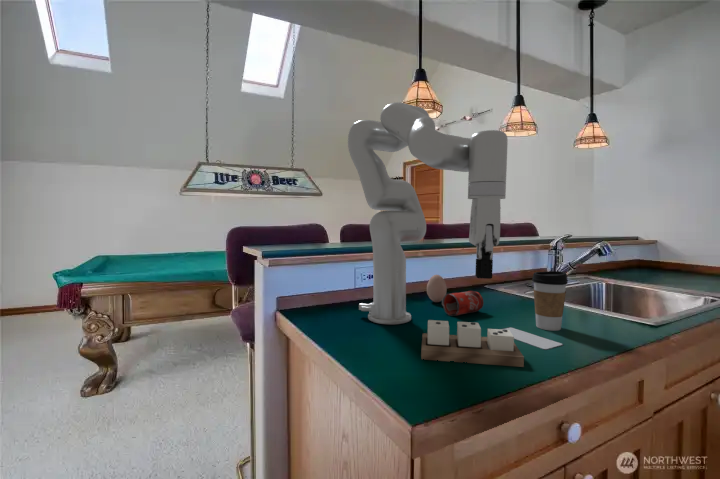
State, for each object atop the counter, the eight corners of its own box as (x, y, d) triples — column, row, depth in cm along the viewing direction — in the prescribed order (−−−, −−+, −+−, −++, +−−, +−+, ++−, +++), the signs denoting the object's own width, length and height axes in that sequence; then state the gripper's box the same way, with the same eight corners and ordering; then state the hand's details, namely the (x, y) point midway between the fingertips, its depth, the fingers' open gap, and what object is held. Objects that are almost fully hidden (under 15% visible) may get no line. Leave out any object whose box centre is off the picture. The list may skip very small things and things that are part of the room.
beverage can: (486, 313, 110) (486, 292, 109) (457, 318, 104) (457, 296, 104) (469, 308, 116) (469, 288, 116) (441, 313, 110) (441, 292, 110)
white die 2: (458, 346, 76) (458, 326, 75) (457, 339, 80) (457, 320, 80) (480, 347, 75) (481, 327, 74) (477, 340, 79) (478, 321, 79)
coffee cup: (571, 333, 90) (573, 275, 90) (535, 331, 92) (537, 274, 91) (559, 323, 99) (561, 270, 98) (527, 321, 100) (528, 269, 99)
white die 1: (427, 344, 77) (427, 324, 77) (427, 337, 81) (428, 319, 81) (448, 345, 76) (449, 326, 76) (448, 338, 80) (448, 320, 80)
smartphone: (510, 326, 95) (564, 344, 82) (510, 328, 95) (564, 346, 82) (491, 330, 92) (545, 349, 79) (491, 332, 92) (545, 352, 79)
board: (421, 359, 74) (421, 349, 74) (422, 341, 85) (422, 333, 85) (523, 367, 70) (523, 357, 70) (511, 347, 81) (511, 338, 81)
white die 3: (490, 353, 74) (490, 334, 74) (487, 346, 79) (487, 327, 78) (513, 355, 73) (513, 335, 73) (508, 347, 78) (509, 328, 78)
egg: (443, 305, 120) (443, 276, 119) (423, 302, 123) (424, 275, 123) (448, 301, 126) (449, 274, 125) (430, 299, 129) (430, 272, 128)
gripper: (464, 193, 83) (461, 271, 84) (473, 189, 68) (470, 283, 69) (497, 193, 81) (494, 272, 83) (514, 189, 67) (510, 285, 68)
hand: (483, 277), depth 76 cm, fingers closed
